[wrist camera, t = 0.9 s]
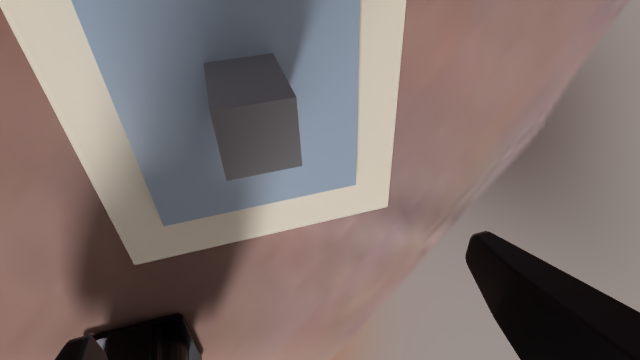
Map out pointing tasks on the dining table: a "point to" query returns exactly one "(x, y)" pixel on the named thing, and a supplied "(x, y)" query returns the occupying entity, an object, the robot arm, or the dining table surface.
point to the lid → (231, 97)
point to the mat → (121, 165)
